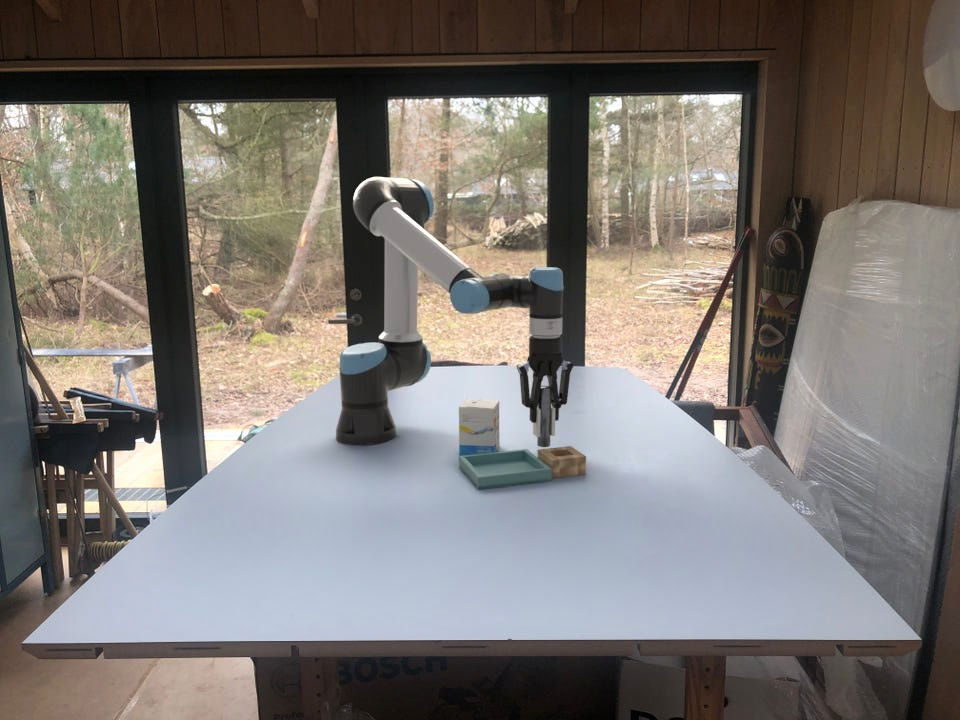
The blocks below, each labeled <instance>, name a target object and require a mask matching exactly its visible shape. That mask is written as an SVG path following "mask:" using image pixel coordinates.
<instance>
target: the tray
mask: <svg viewBox="0 0 960 720" xmlns="http://www.w3.org/2000/svg"><path fill="white" fill-rule="evenodd" d="M458 468H459V469H460V470H461V472H463V474H464V475H465V476H466V477H467V479H469V481H470V482H471V483H472V484H473V485H474V486H475V488H476V489H477V490H485V489H494V488H496V489H497V488H503V487H512V486H519V485H528V484H535V483H537V484H538V483H544V482H551V481H552V479H553V478H552V469H551V468H550V467H548V466H547V465H546V464H545V463H544V462H542V461H541V460H540V459H539V458H538V456H536V455H535V454H534V453H532V452H531V451H530V450H529V449H527V448H524V449H523V448H522V449H513V450H505V451H497V452H493V453H484V454H474V455H459V456H458Z"/></svg>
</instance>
